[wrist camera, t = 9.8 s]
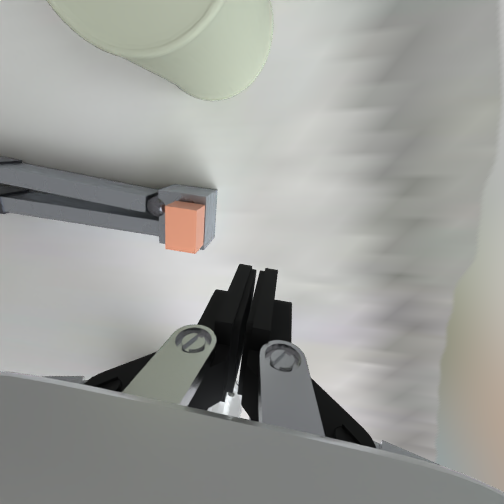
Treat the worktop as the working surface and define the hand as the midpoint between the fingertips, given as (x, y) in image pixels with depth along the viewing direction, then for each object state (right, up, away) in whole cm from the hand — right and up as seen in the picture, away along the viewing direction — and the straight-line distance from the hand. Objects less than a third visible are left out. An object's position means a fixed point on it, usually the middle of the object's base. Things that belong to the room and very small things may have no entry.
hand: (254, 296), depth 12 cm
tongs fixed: (-15, +7, +14) cm, 22 cm away
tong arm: (-17, +9, +14) cm, 24 cm away
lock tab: (-5, +4, +10) cm, 12 cm away
